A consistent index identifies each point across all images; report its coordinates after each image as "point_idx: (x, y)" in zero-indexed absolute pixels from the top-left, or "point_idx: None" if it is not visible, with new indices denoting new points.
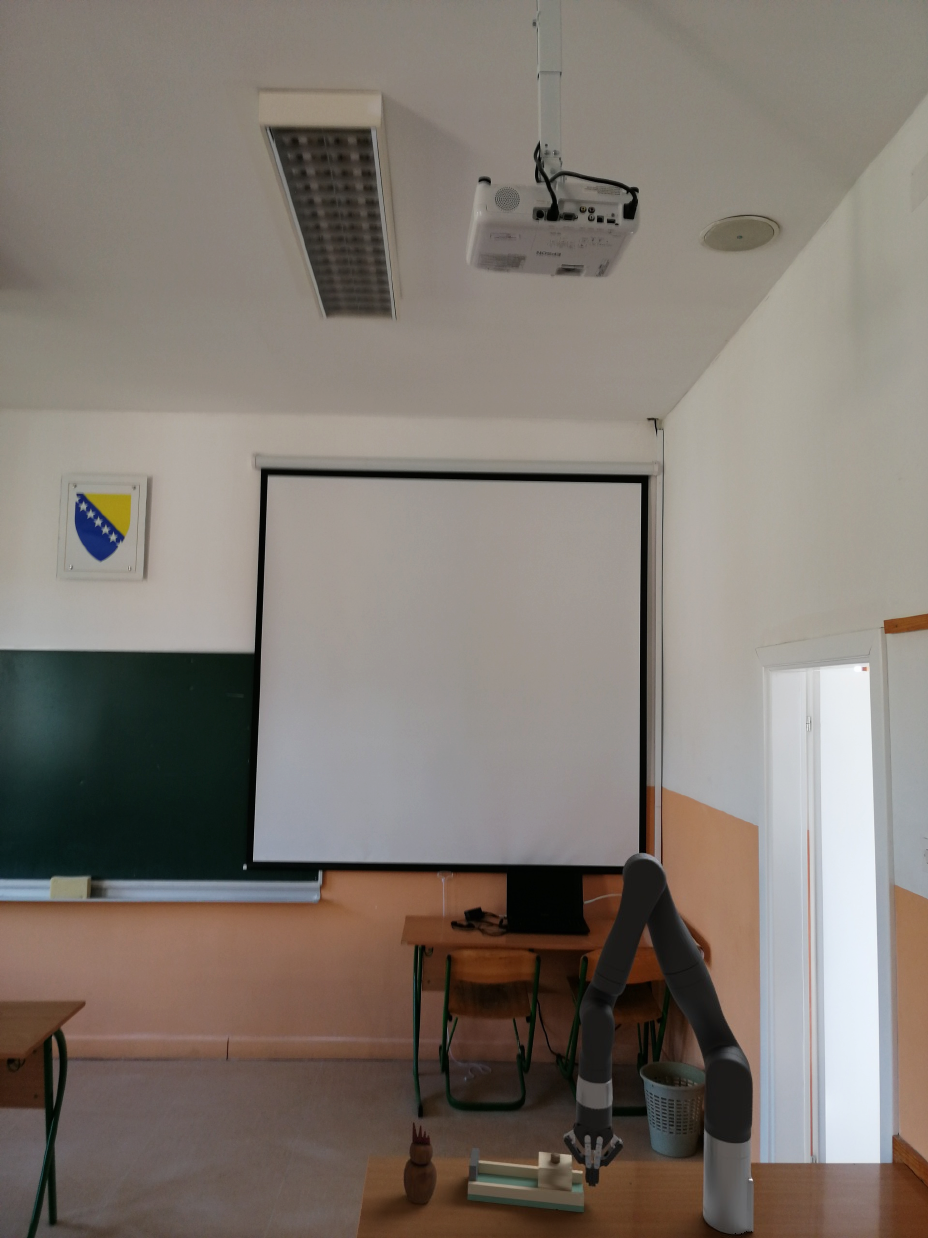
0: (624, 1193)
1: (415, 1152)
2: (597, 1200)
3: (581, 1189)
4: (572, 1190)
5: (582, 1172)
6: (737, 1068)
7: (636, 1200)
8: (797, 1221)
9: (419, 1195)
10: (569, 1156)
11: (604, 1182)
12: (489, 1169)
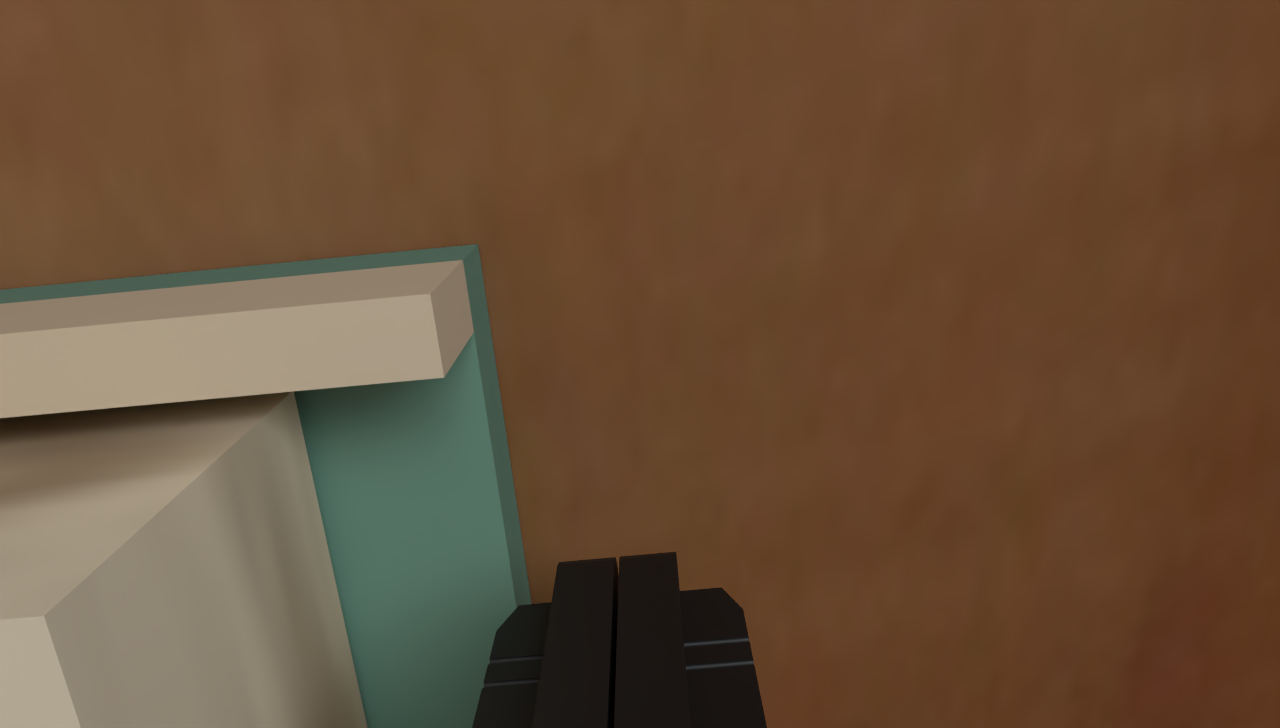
0: (1093, 229)
1: None
2: (706, 485)
3: (475, 487)
4: (352, 544)
5: (432, 346)
6: None
7: (1241, 349)
8: None
9: None
10: (3, 702)
11: (807, 16)
12: None
